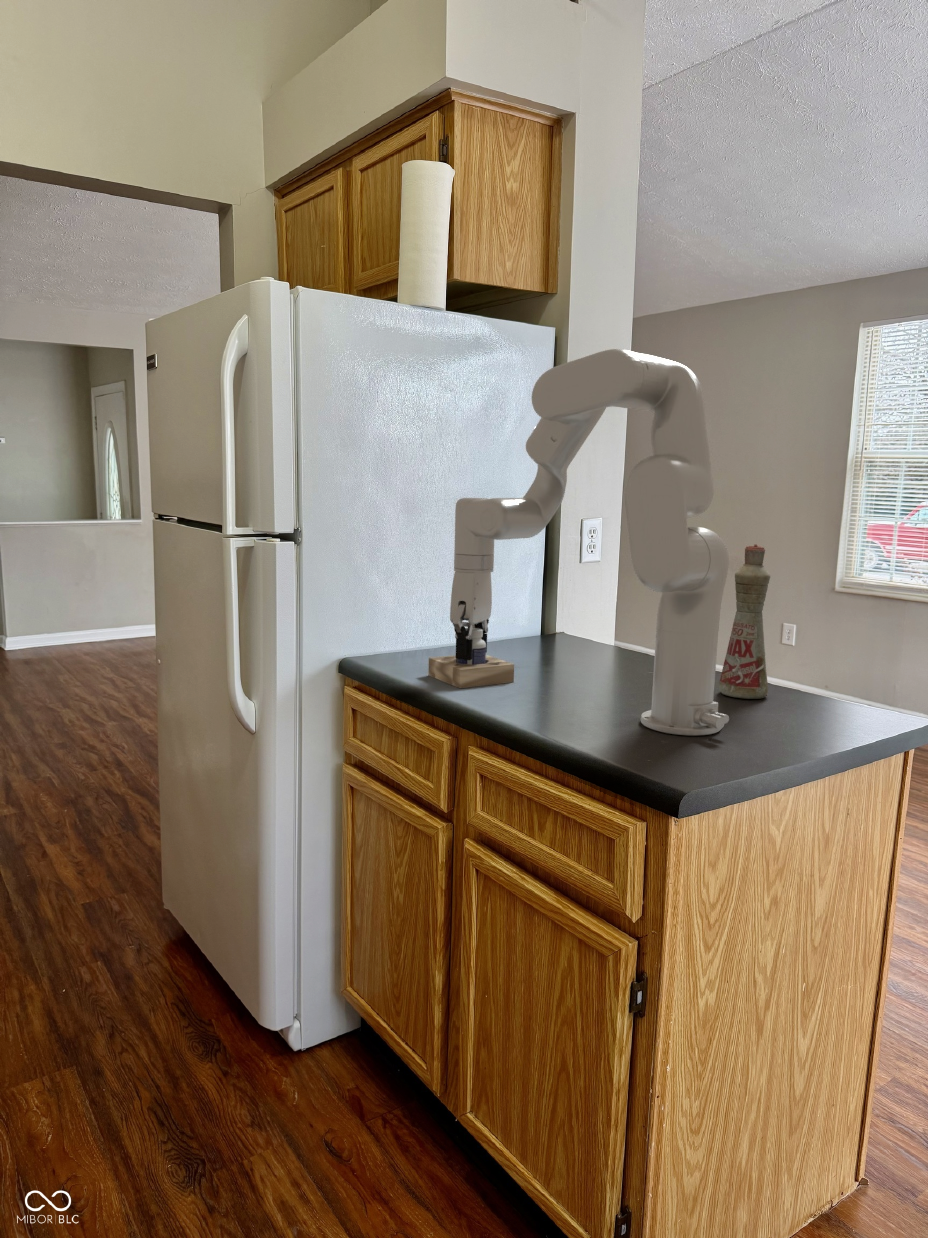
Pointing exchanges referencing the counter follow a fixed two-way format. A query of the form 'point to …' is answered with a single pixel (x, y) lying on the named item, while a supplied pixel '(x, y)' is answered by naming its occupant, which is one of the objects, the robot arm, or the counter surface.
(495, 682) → the collar
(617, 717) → the counter surface
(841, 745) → the counter surface
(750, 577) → the bottle
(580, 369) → the robot arm
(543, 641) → the counter surface
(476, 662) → the pill bottle
